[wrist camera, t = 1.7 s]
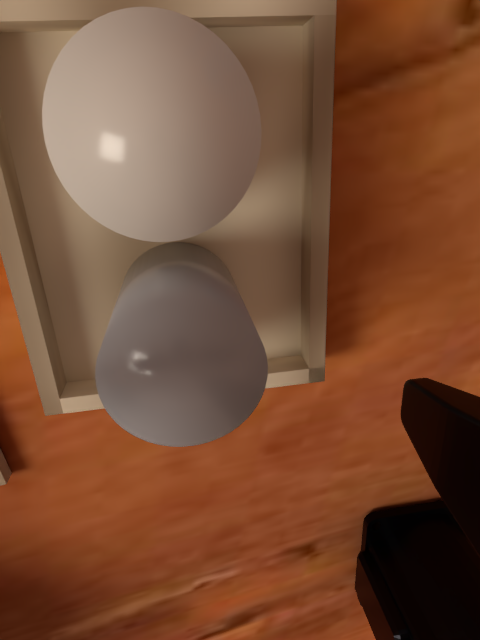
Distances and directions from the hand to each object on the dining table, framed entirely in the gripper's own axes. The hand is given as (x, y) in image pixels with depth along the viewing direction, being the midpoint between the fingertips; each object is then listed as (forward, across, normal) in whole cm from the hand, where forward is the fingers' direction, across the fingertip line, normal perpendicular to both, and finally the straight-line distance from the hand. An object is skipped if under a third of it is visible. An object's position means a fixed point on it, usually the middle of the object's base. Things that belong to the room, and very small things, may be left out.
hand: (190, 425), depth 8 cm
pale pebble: (+7, 0, -5) cm, 9 cm away
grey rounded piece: (+7, 0, 0) cm, 7 cm away
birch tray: (+8, 0, -3) cm, 8 cm away
